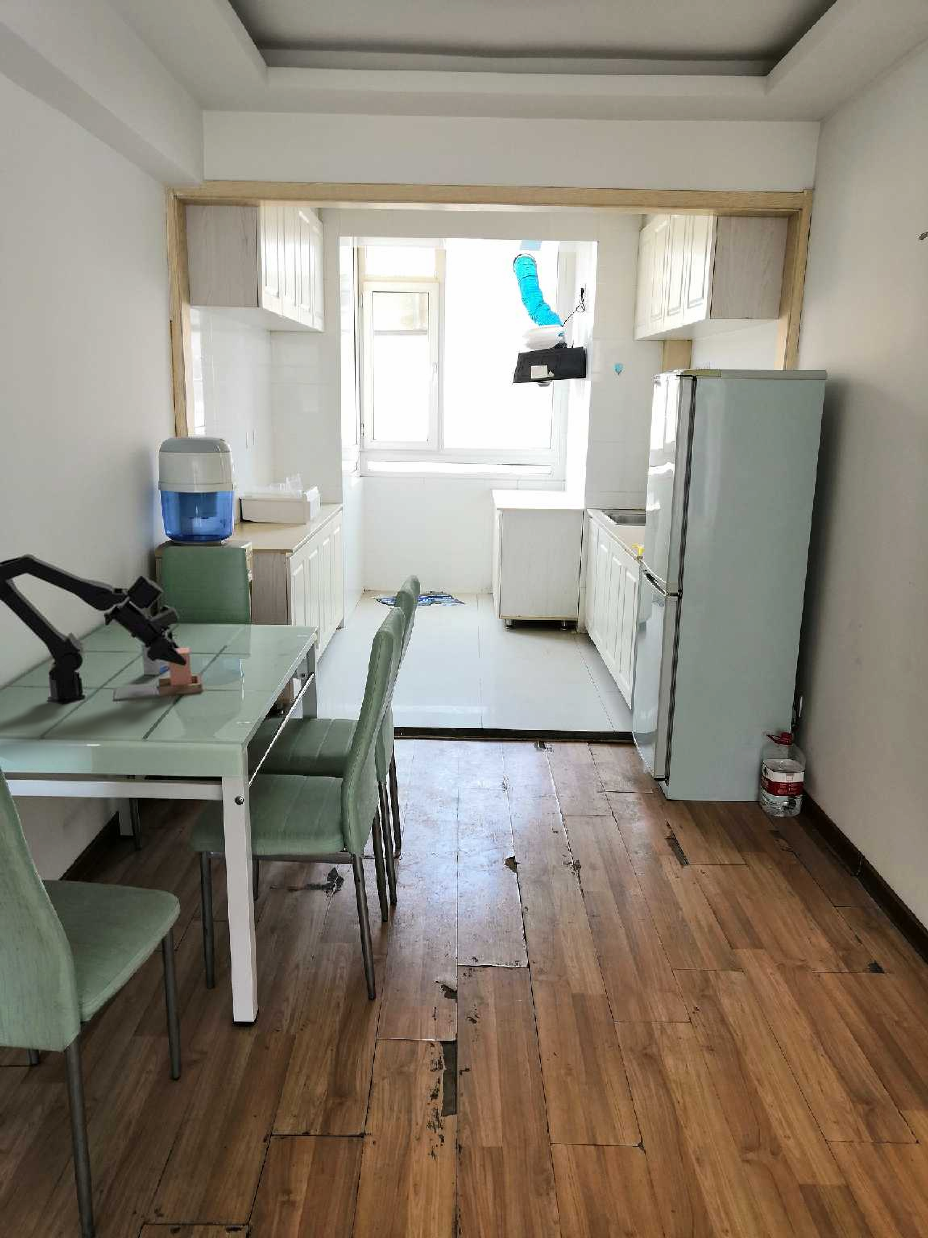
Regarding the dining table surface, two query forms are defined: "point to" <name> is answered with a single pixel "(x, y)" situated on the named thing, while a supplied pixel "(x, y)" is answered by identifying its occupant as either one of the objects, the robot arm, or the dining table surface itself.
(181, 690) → the frame
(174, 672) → the salmon orange rectangular block
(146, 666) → the medicine box
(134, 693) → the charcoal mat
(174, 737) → the dining table surface
